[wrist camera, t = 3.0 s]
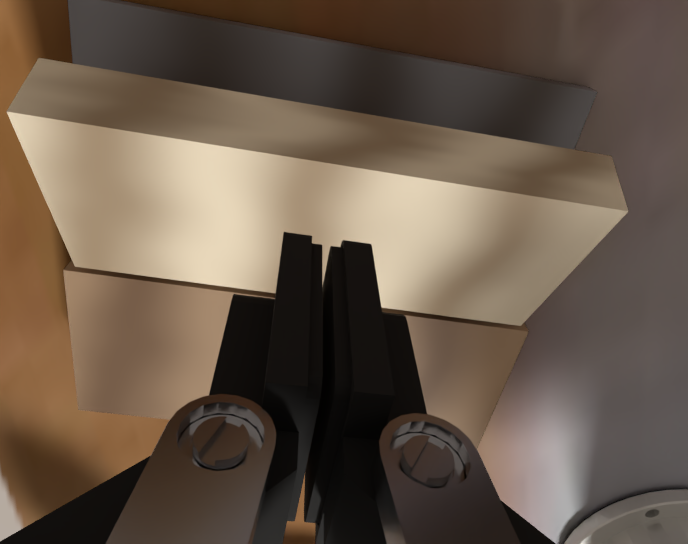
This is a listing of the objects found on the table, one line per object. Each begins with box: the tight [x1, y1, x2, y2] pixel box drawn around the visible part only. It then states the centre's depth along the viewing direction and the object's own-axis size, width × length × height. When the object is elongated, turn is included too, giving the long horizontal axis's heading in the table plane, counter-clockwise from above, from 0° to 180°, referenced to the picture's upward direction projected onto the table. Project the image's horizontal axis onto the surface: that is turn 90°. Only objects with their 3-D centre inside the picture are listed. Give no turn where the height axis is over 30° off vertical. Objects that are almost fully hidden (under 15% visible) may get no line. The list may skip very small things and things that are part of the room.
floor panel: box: [63, 0, 597, 449], centre depth 24 cm, size 20×18×3 cm
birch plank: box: [7, 58, 628, 326], centre depth 20 cm, size 19×8×2 cm, turn 80°
